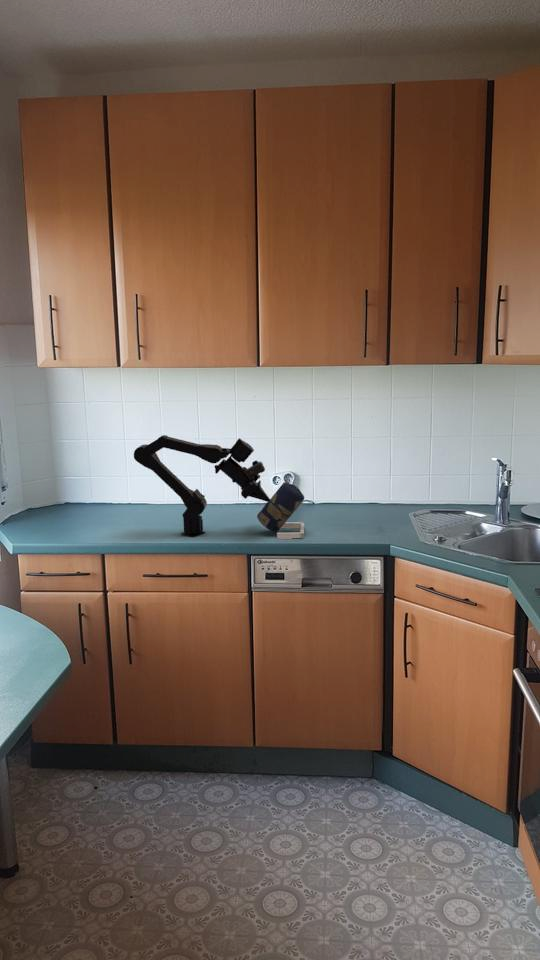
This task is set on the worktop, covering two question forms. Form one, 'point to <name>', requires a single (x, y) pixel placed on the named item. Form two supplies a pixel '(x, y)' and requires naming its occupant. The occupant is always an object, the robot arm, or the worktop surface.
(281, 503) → the canister
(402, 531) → the worktop surface
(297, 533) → the block
